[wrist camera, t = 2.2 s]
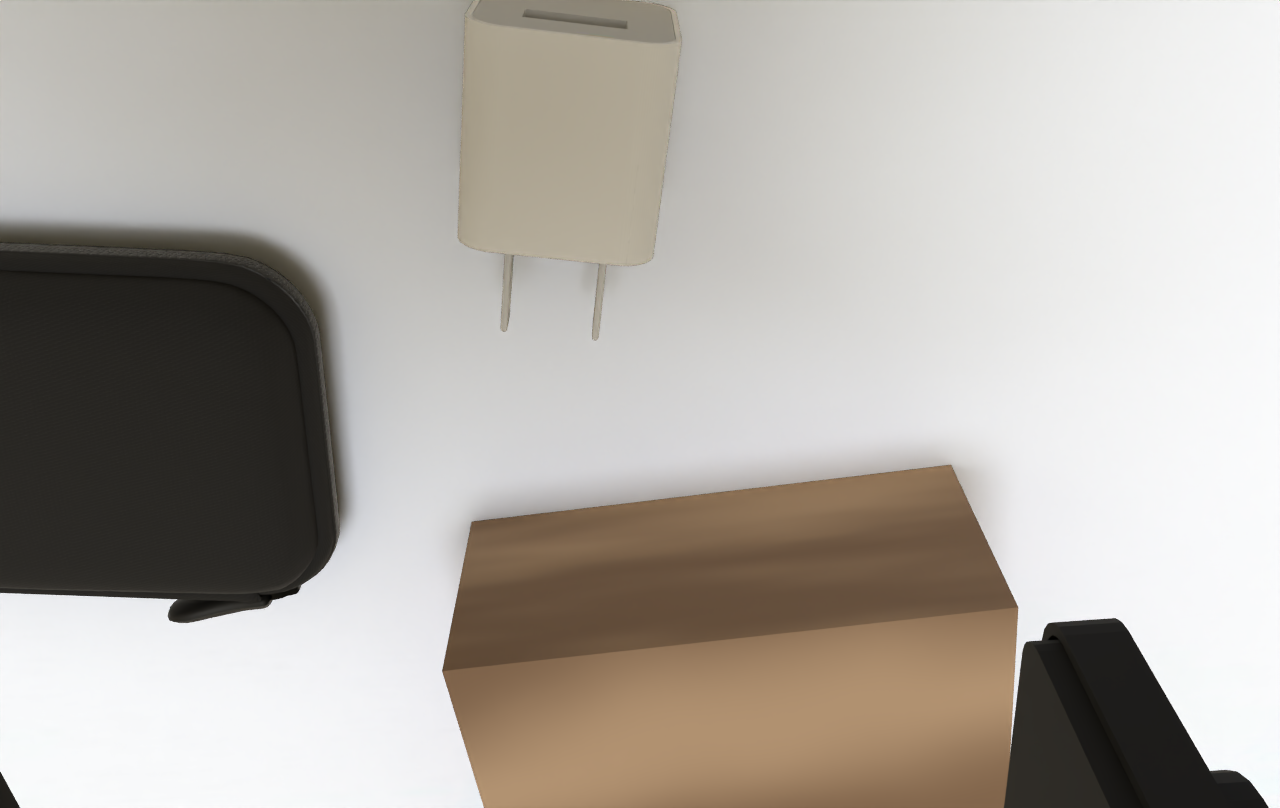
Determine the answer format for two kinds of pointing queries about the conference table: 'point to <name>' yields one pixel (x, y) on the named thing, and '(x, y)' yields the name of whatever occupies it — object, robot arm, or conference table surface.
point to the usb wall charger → (565, 131)
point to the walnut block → (739, 651)
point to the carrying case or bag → (160, 429)
